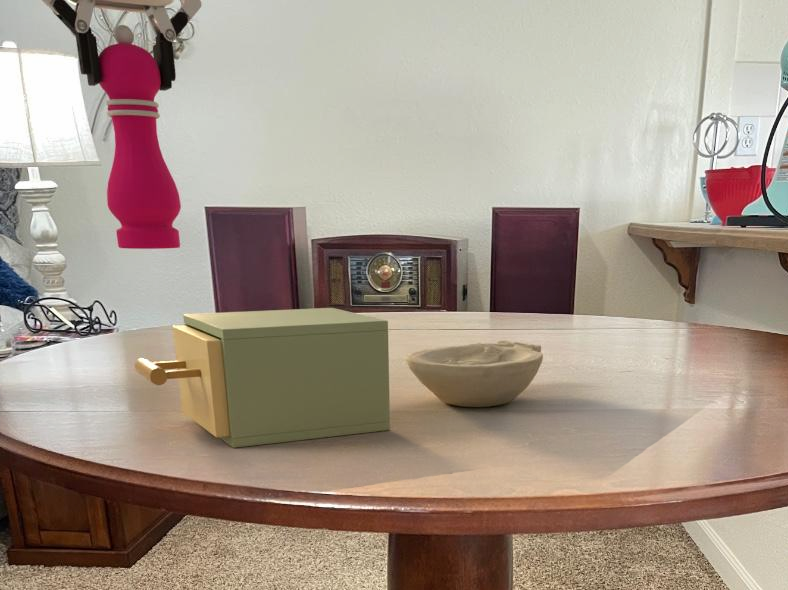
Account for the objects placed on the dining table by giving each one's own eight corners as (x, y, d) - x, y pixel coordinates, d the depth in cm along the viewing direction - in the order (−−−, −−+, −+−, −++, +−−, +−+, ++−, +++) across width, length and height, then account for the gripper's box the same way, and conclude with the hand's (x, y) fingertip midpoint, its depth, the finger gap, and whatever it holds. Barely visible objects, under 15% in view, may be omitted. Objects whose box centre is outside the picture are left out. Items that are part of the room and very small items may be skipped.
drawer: (164, 443, 72) (152, 344, 69) (135, 416, 81) (123, 328, 78) (364, 421, 80) (361, 332, 77) (317, 399, 89) (313, 318, 86)
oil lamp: (472, 375, 108) (473, 333, 106) (583, 386, 102) (586, 341, 100) (379, 405, 91) (378, 355, 89) (506, 420, 85) (507, 366, 83)
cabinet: (233, 448, 74) (222, 329, 71) (194, 419, 84) (182, 314, 81) (390, 430, 81) (388, 320, 77) (336, 405, 91) (332, 307, 87)
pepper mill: (98, 248, 92) (65, 21, 84) (146, 246, 98) (121, 34, 90) (152, 249, 89) (124, 15, 81) (199, 247, 95) (177, 29, 87)
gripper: (187, -113, 87) (206, 96, 95) (-6, -147, 79) (30, 84, 87) (209, -136, 82) (227, 89, 89) (3, -175, 73) (41, 75, 81)
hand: (130, 84), depth 88 cm, fingers closed on pepper mill, 6 cm apart
